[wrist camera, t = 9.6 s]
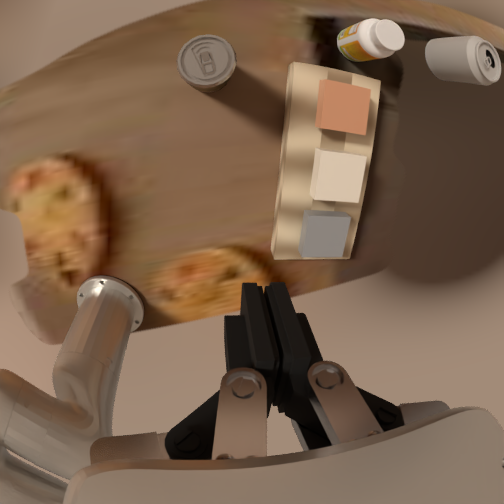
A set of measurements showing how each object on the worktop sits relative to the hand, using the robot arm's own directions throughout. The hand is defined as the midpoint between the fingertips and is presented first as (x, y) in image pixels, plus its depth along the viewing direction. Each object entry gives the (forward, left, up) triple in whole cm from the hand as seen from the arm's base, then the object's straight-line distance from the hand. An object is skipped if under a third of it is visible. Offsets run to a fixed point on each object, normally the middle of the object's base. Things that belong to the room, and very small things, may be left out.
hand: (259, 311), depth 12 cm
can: (+22, -32, -29) cm, 49 cm away
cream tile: (+1, -13, -26) cm, 29 cm away
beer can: (+12, +3, -29) cm, 32 cm away
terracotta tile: (+9, -13, -27) cm, 31 cm away
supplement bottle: (+19, -16, -29) cm, 38 cm away
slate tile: (-8, -13, -27) cm, 31 cm away
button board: (+1, -13, -29) cm, 32 cm away
